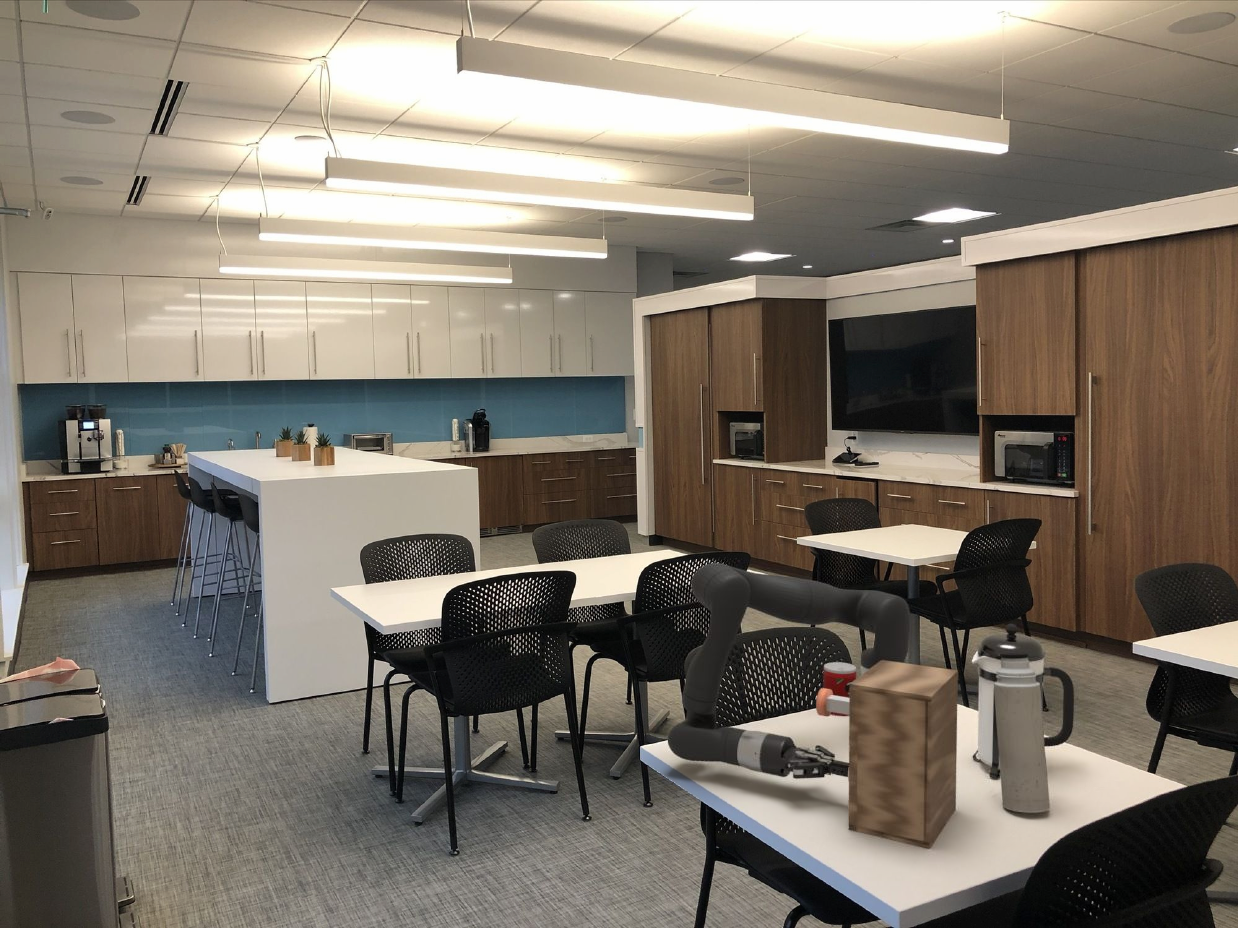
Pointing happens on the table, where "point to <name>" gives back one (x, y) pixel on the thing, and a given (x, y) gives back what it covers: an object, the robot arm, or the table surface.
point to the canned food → (839, 679)
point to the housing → (903, 751)
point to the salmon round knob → (831, 703)
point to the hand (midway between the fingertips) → (852, 770)
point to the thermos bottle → (1020, 735)
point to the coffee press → (987, 673)
